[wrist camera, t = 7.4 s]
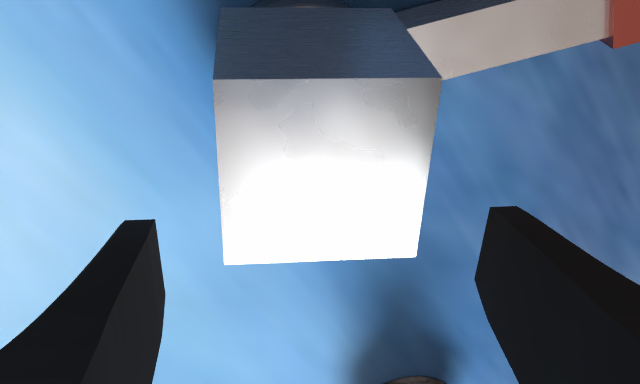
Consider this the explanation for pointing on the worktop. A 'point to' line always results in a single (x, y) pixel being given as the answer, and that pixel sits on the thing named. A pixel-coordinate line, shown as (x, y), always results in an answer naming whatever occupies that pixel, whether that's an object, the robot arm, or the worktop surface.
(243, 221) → the brushed white cube
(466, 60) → the ratchet
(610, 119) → the worktop surface
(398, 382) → the chess piece
